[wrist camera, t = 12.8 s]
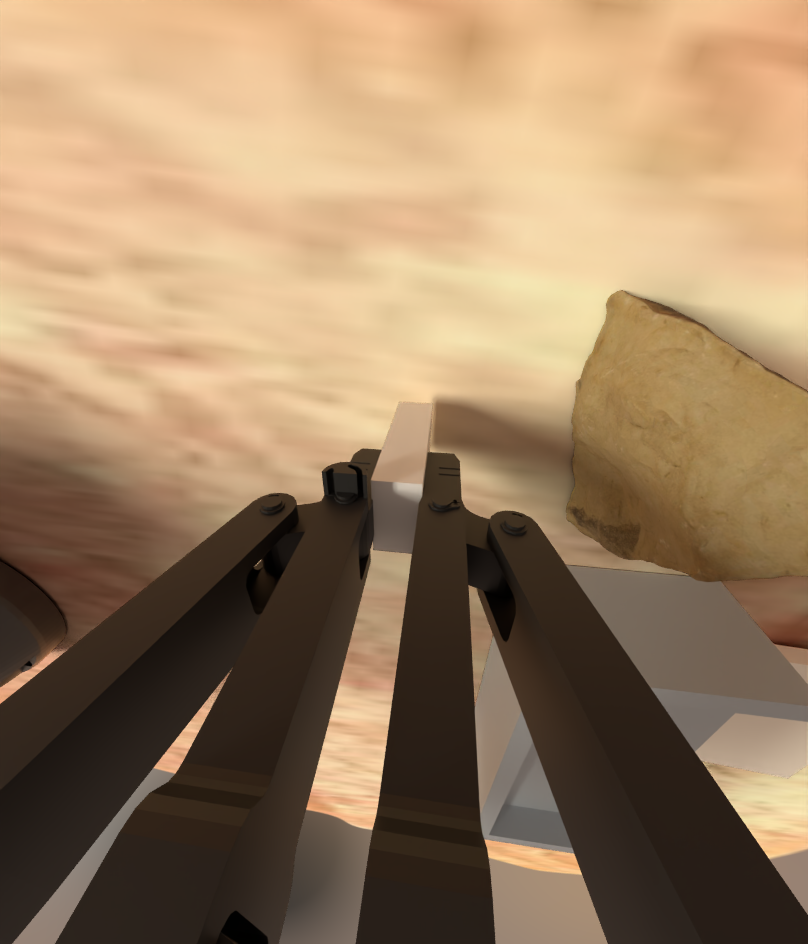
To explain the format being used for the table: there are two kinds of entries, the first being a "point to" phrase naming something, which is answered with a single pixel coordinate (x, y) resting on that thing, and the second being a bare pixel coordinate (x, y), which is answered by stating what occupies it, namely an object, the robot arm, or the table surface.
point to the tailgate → (762, 736)
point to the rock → (688, 450)
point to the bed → (662, 666)
